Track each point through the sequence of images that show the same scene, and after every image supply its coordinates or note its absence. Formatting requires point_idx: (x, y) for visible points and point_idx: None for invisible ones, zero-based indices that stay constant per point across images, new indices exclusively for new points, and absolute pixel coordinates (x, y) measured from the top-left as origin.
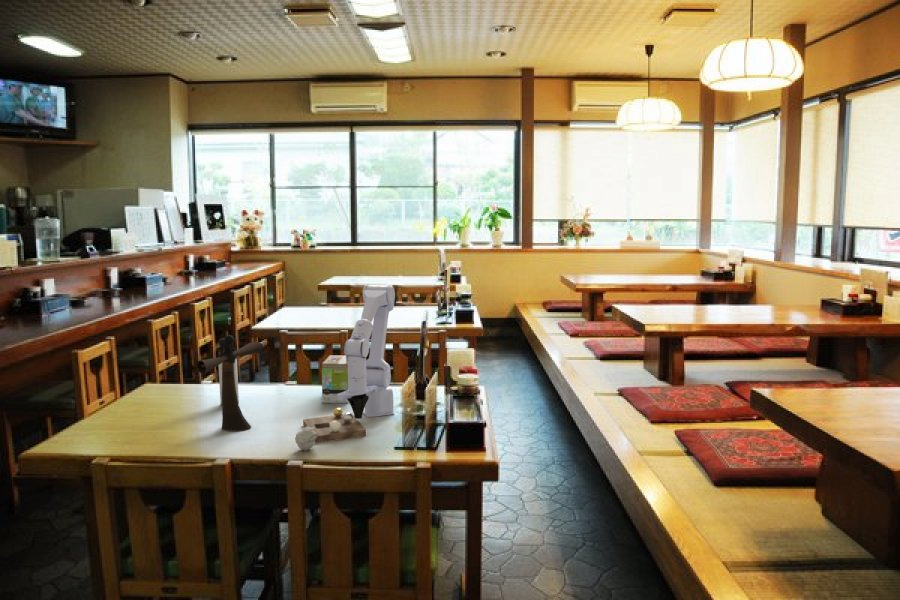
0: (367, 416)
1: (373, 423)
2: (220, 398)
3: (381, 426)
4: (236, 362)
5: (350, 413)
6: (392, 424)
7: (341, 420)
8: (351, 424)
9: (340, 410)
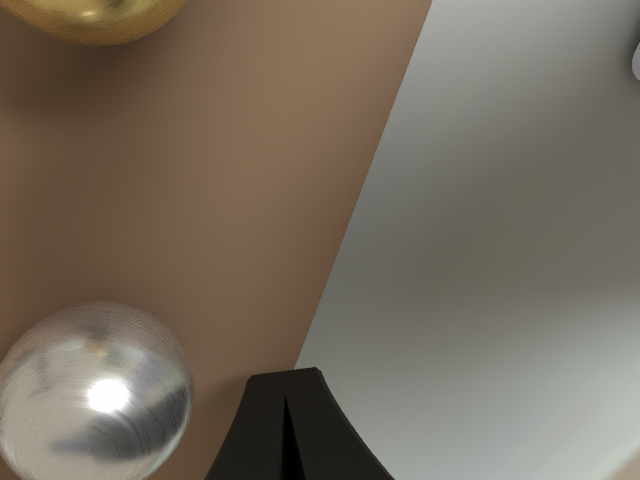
0: (638, 71)
1: (507, 316)
2: None
3: (494, 445)
4: None
5: (132, 475)
6: (614, 455)
7: (71, 196)
8: None
9: (99, 21)
